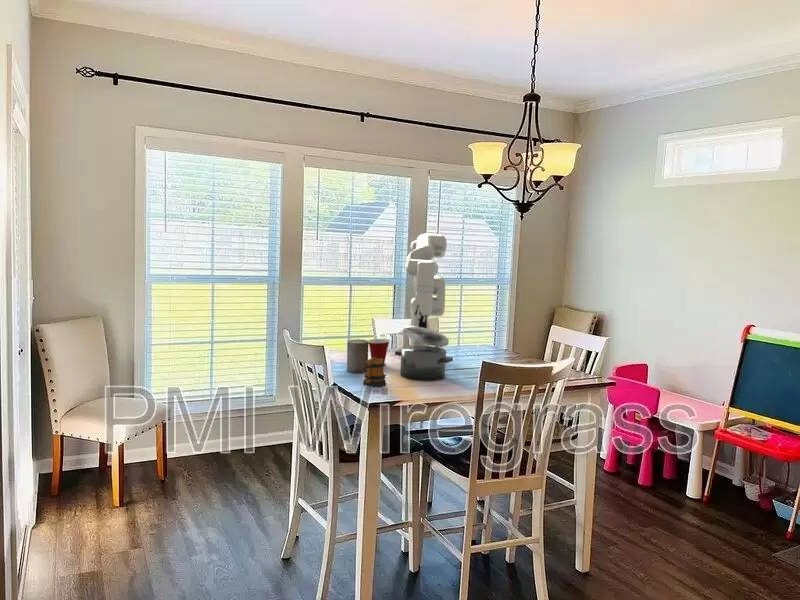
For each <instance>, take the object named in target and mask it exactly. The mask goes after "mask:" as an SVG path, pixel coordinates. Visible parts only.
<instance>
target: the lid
mask: <svg viewBox="0 0 800 600" xmlns="http://www.w3.org/2000/svg"><path fill="white" fill-rule="evenodd" d="M402 332H403V334H404V335H405V337H407V338H409V339H410V338H411V339H413V340H415V341H417V342H420V343H423V344H426V345H428V346H433V347H439V348H443V347H446V346H448V345H449V342H450V339H449V338H448V336H446V335H444V334H442V333H440V332H438V331H436V330H433V329H431V328H429V329H427V328H423V327H418V326H411V325H407V326H404V328H403V330H402Z"/></svg>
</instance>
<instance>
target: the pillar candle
mask: <svg viewBox="0 0 800 600" xmlns="http://www.w3.org/2000/svg"><path fill="white" fill-rule="evenodd" d="M346 341H347V347H346V371H347V372H349V373H352V372H353V373H354V374H358V373H359V374H360V373H367V366H366V365H365V364H366V361H367V360H369V343H368V340H367V339H359V338H357V339H354V338H353V339H349V340H346Z"/></svg>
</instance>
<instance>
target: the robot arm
mask: <svg viewBox="0 0 800 600" xmlns="http://www.w3.org/2000/svg"><path fill="white" fill-rule="evenodd" d="M447 243H448V242H447V238H446V237H445V235H443V234H439V233H422V234H420V235H419V236H418V237H417V238H416V240H414V241H412V242H411V243H410V252H409V254H408V255H407V257H406V265H405V272H406V274H407V275H408V276H410V277H414V278H413V291H414V292H415V295H414V297H412V298H411V300H410V303H409V309H410V326H418V327H423V328H427V329H430V326H431V325H430V323H429V321H428V320H429V317H441V316H444V314H445V309H446V307H445V306H446V281H445V279H444V277H443V276H439V275H437V274H438V271H439V264H437V261H435V260H432V259H443V258H444V257H445V254H446V251H447V246H448V245H447ZM434 296H435V297H434ZM413 345H422V346H429V345H426V344H423V343H420V342H417V341H415V340H413V339H411V338H409V346H413Z"/></svg>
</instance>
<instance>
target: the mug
mask: <svg viewBox="0 0 800 600" xmlns="http://www.w3.org/2000/svg"><path fill="white" fill-rule="evenodd" d="M386 364H387V363H385V362H384V363H383V359H382V358H381V359H376V358H374V357H372V358H371V357H370V358H368V360H367V361H366V364H365V365H366V366H367V372H365V373H363V374H364V376H363V378H364V380H363V382H362V384H363V386H365V385H367V386H366V387H368V386H372V387H371V388H384V387H386V386H387V382H386V379H387V377H386V376H387V374H385V371H384V367H386ZM383 386H384V387H383Z"/></svg>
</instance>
